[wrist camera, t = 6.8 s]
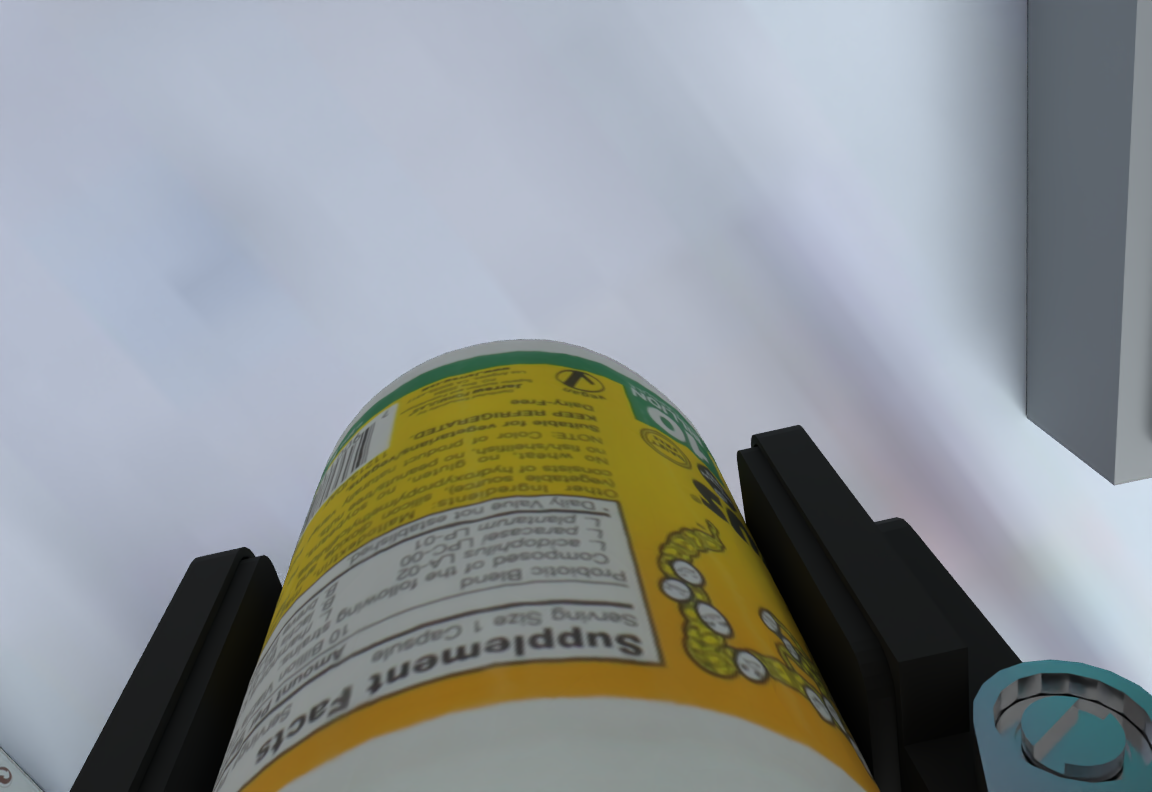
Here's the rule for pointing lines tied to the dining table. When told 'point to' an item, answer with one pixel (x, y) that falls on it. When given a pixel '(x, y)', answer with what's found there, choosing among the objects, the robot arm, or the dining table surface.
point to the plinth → (1091, 231)
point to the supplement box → (14, 777)
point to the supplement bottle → (532, 603)
